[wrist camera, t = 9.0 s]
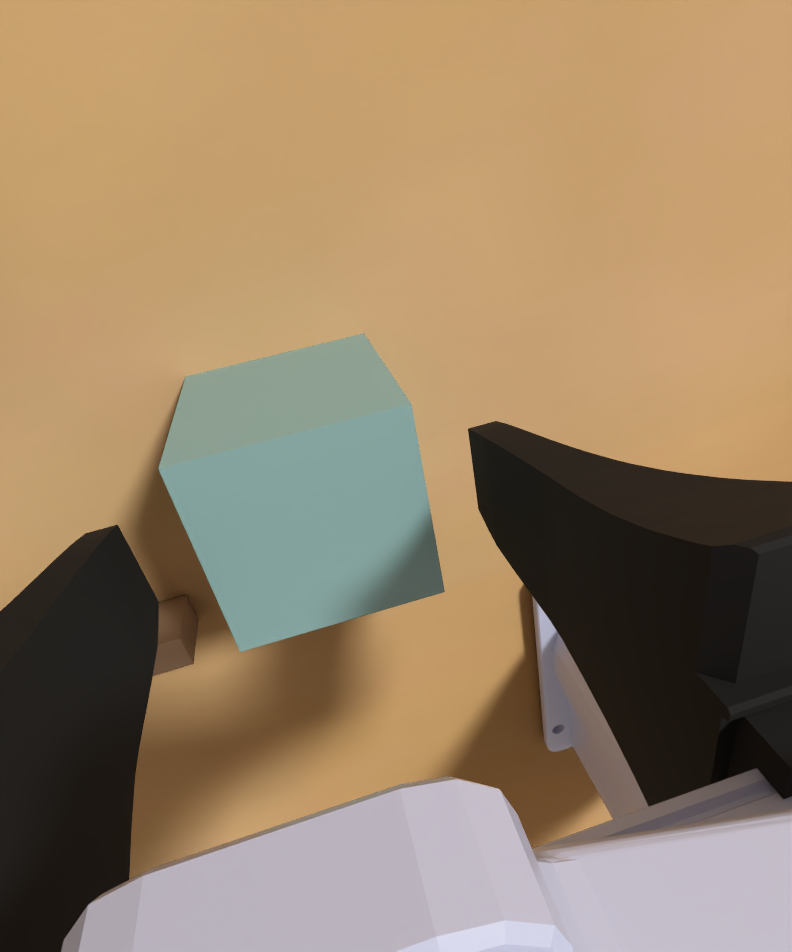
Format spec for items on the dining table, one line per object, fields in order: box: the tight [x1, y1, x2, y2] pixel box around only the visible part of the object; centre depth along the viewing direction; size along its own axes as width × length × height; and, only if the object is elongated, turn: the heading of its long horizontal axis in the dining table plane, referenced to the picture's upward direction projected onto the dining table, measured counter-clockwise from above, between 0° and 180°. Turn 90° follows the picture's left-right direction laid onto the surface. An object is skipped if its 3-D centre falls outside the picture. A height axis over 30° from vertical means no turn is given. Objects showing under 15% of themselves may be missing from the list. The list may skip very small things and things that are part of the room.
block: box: [158, 334, 445, 652], centre depth 13 cm, size 4×4×5 cm
